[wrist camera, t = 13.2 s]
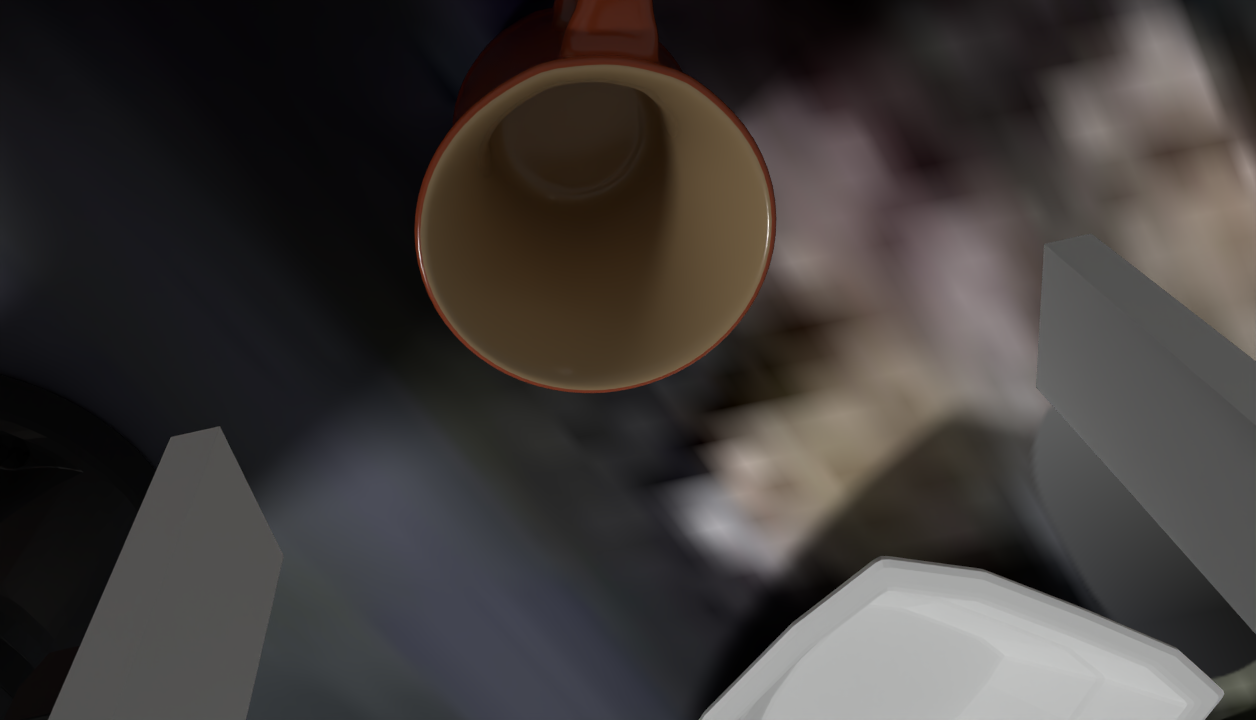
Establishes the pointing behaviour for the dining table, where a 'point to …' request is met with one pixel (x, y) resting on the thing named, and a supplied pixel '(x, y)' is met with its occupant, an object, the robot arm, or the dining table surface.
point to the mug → (592, 205)
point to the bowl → (961, 657)
